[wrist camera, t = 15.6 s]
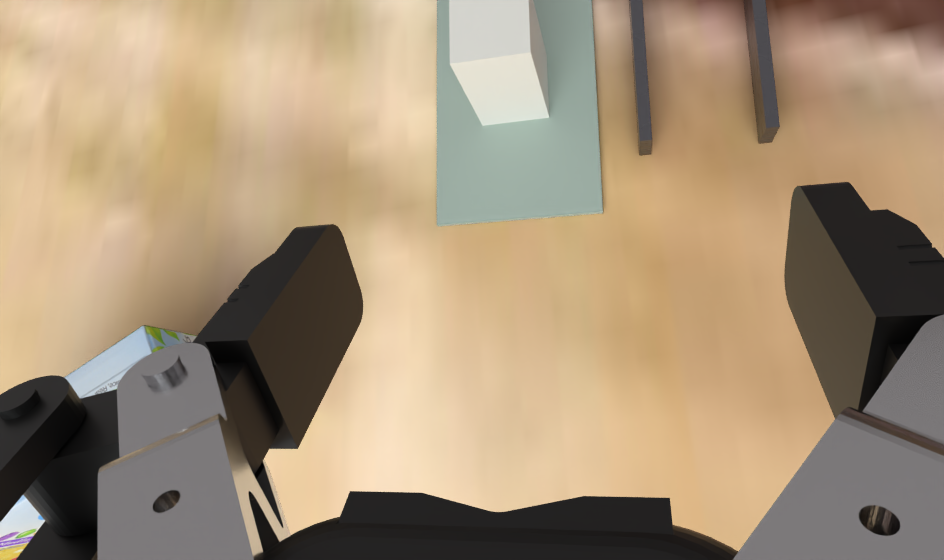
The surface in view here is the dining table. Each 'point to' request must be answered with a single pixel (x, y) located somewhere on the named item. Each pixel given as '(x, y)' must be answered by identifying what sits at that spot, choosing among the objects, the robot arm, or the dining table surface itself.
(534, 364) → the dining table surface
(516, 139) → the mat
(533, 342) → the dining table surface
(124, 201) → the dining table surface
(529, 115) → the block
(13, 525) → the snack box
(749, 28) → the brackets
